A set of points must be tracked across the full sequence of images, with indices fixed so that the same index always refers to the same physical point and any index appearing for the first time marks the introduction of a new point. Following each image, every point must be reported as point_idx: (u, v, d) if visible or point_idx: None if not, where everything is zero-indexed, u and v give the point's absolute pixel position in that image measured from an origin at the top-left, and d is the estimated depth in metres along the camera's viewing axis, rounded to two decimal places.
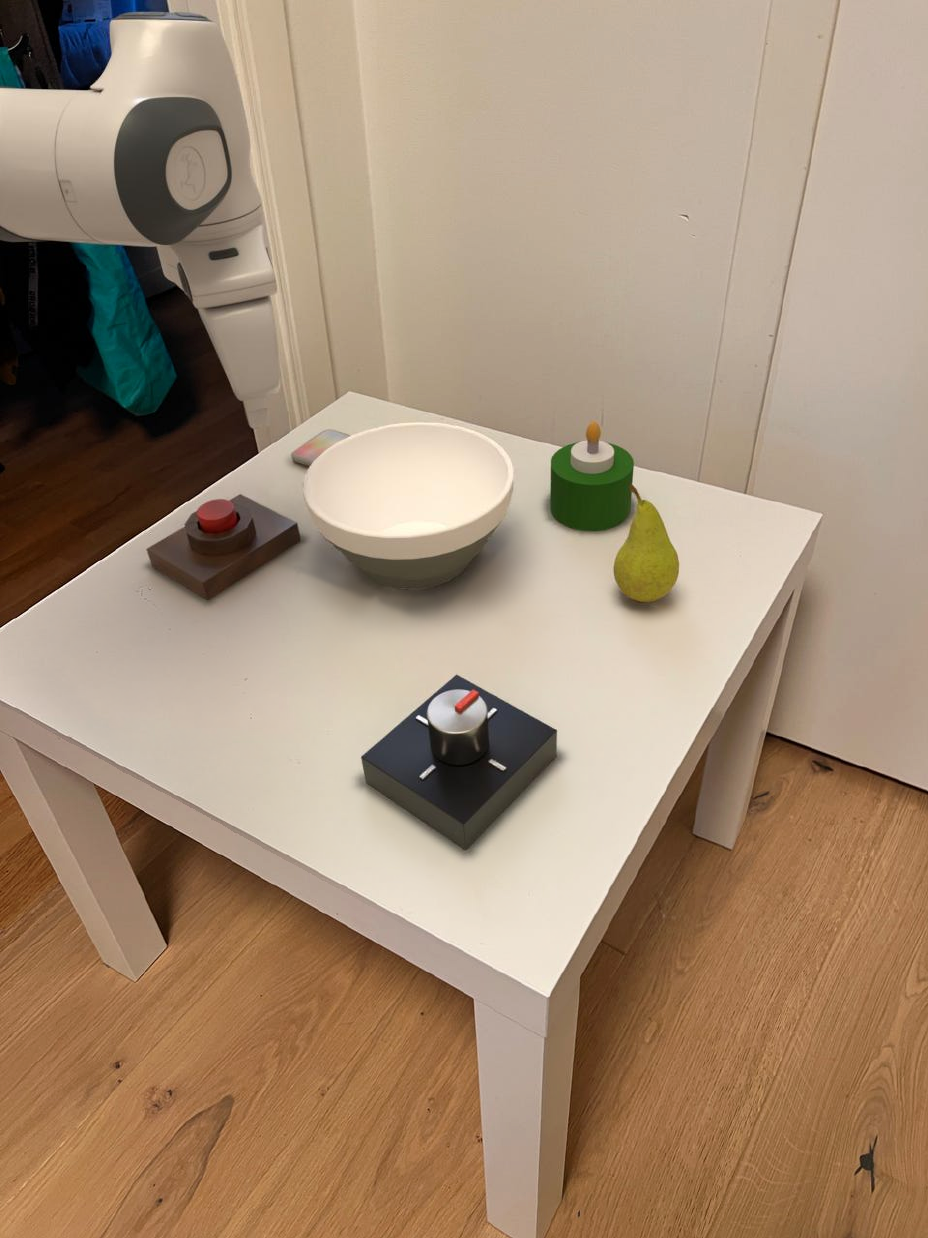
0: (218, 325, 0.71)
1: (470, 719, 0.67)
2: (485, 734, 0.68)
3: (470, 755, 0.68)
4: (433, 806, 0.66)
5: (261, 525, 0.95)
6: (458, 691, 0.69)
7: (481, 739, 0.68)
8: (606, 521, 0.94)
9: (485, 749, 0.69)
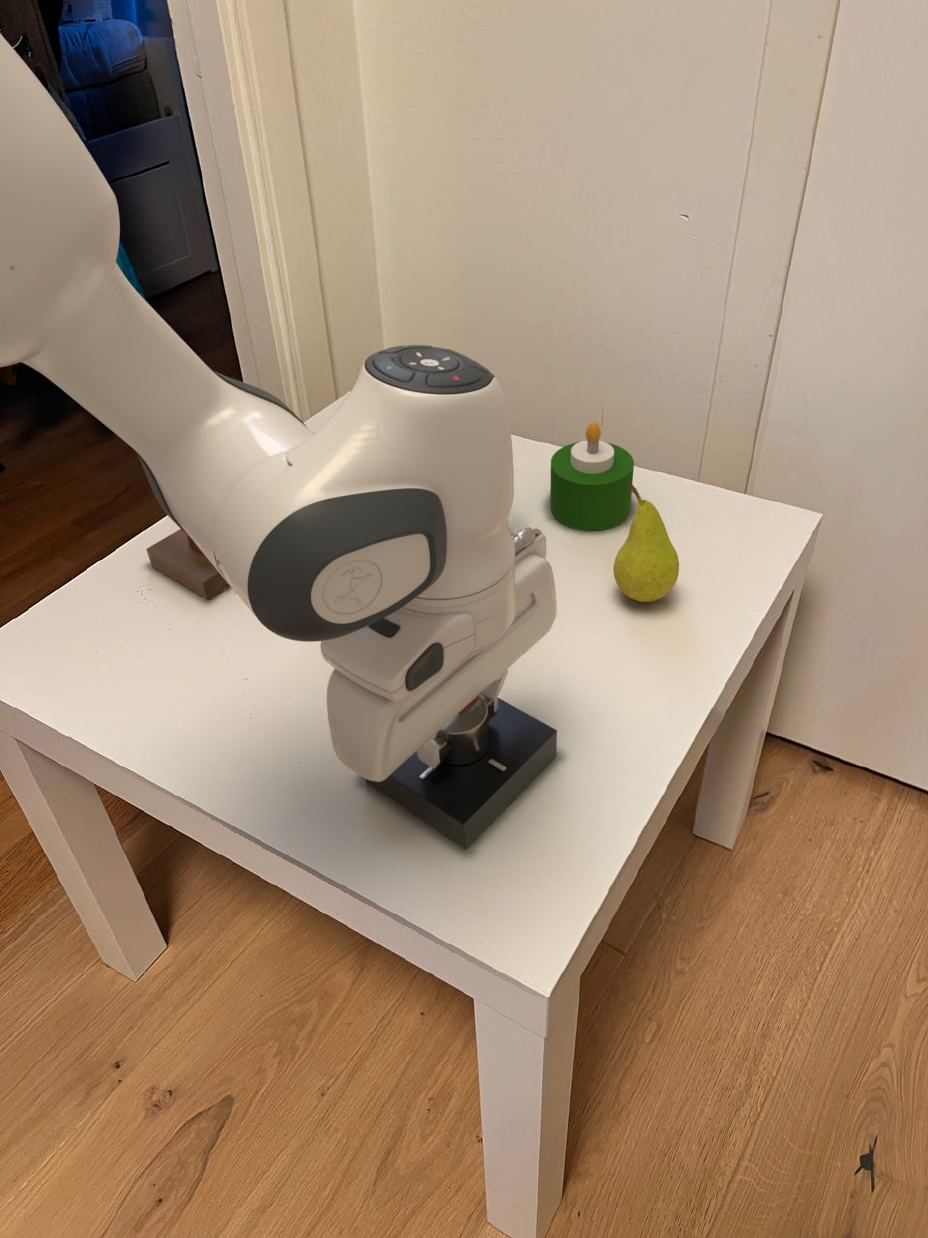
0: (331, 689, 0.58)
1: (470, 719, 0.67)
2: (485, 734, 0.68)
3: (470, 755, 0.68)
4: (433, 806, 0.66)
5: None
6: None
7: (481, 739, 0.68)
8: (606, 521, 0.94)
9: (485, 749, 0.69)
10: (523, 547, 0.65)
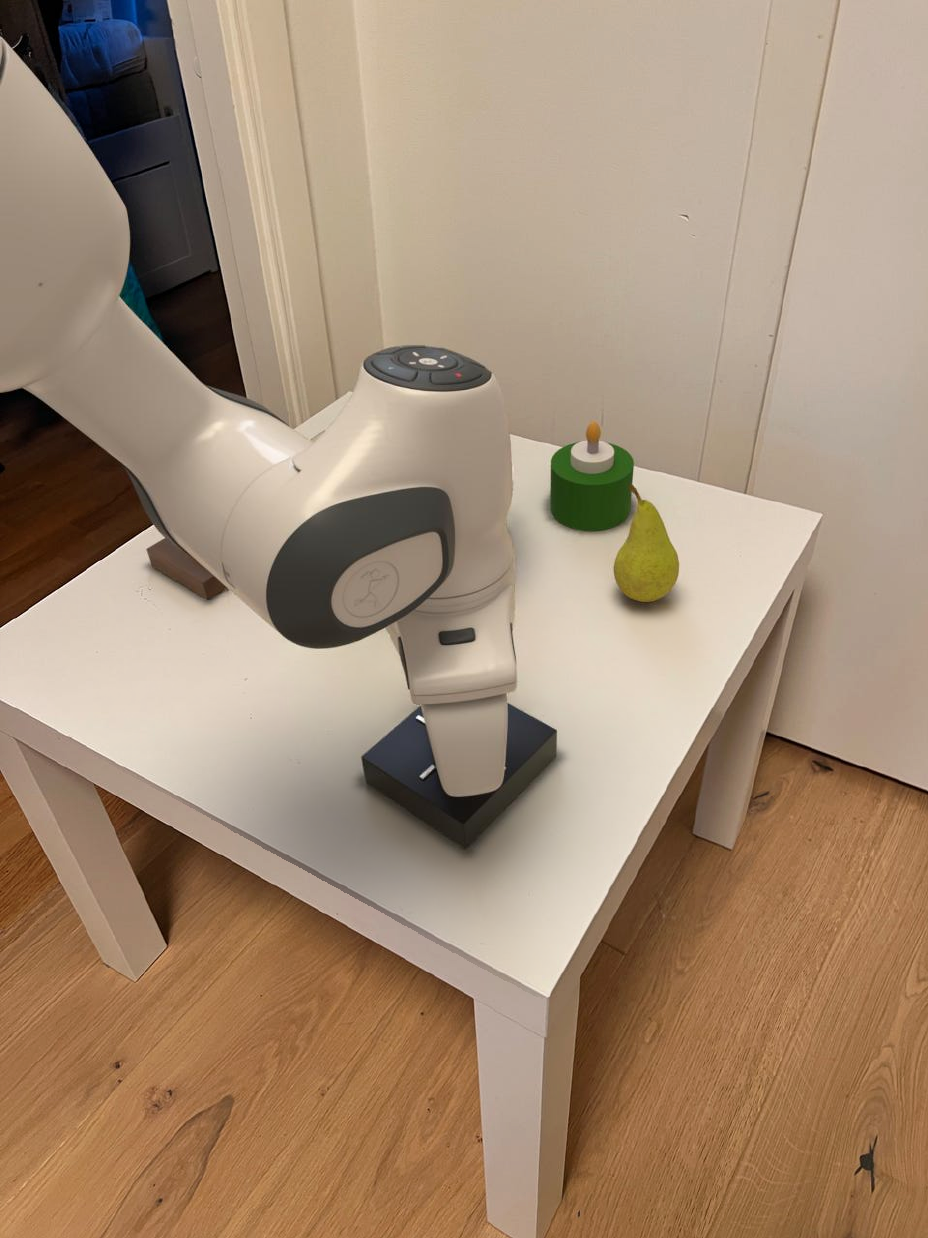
0: (436, 726, 0.55)
1: None
2: None
3: None
4: (433, 806, 0.66)
5: None
6: None
7: None
8: (606, 521, 0.94)
9: None
10: None
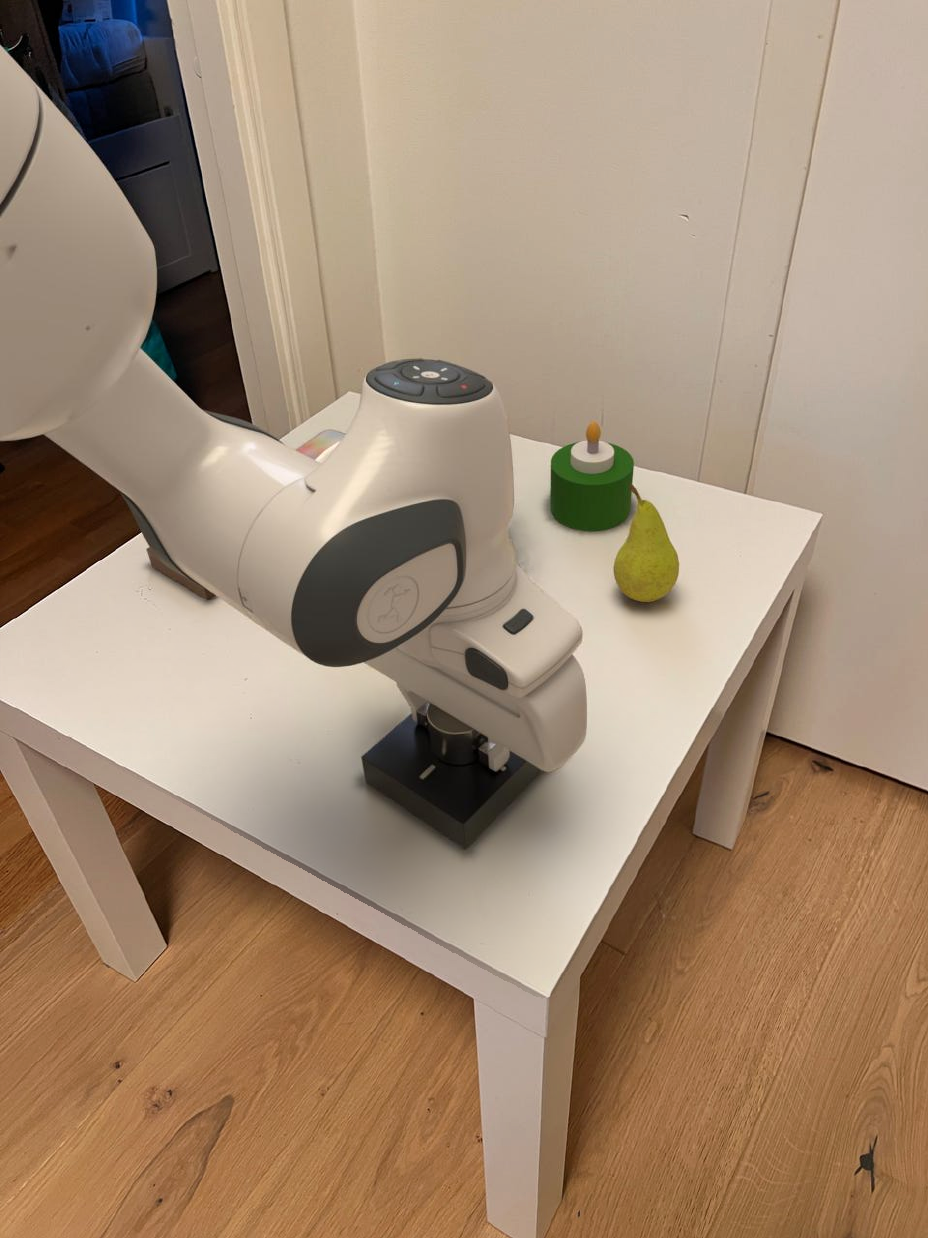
0: (543, 708, 0.57)
1: None
2: None
3: None
4: (433, 806, 0.66)
5: None
6: (430, 709, 0.68)
7: None
8: (606, 521, 0.94)
9: None
10: None
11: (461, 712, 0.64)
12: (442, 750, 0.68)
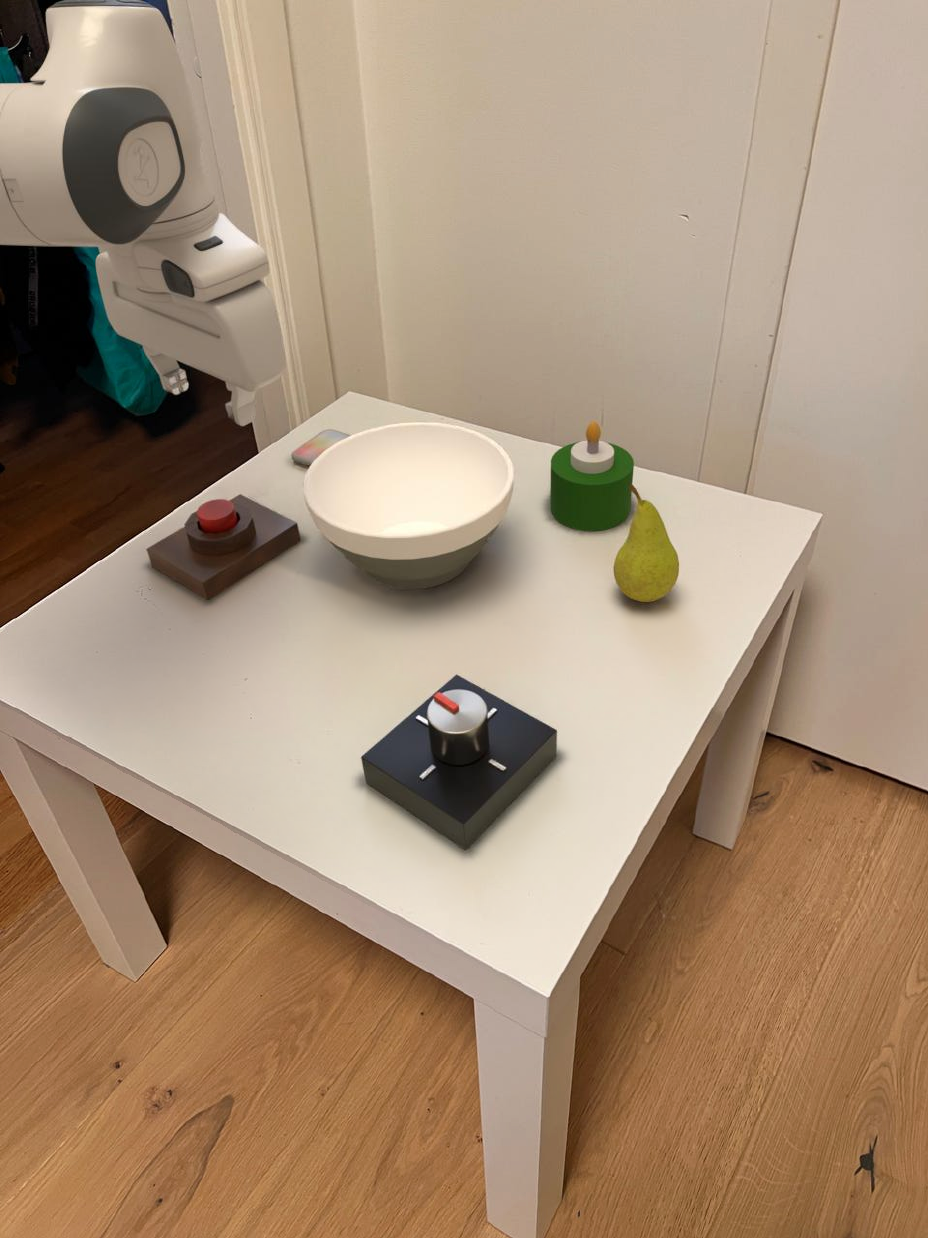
0: (228, 314, 0.68)
1: (470, 701, 0.69)
2: None
3: None
4: (433, 806, 0.66)
5: (261, 525, 0.95)
6: (430, 709, 0.68)
7: None
8: (606, 521, 0.94)
9: None
10: None
11: (189, 354, 0.76)
12: (442, 750, 0.68)
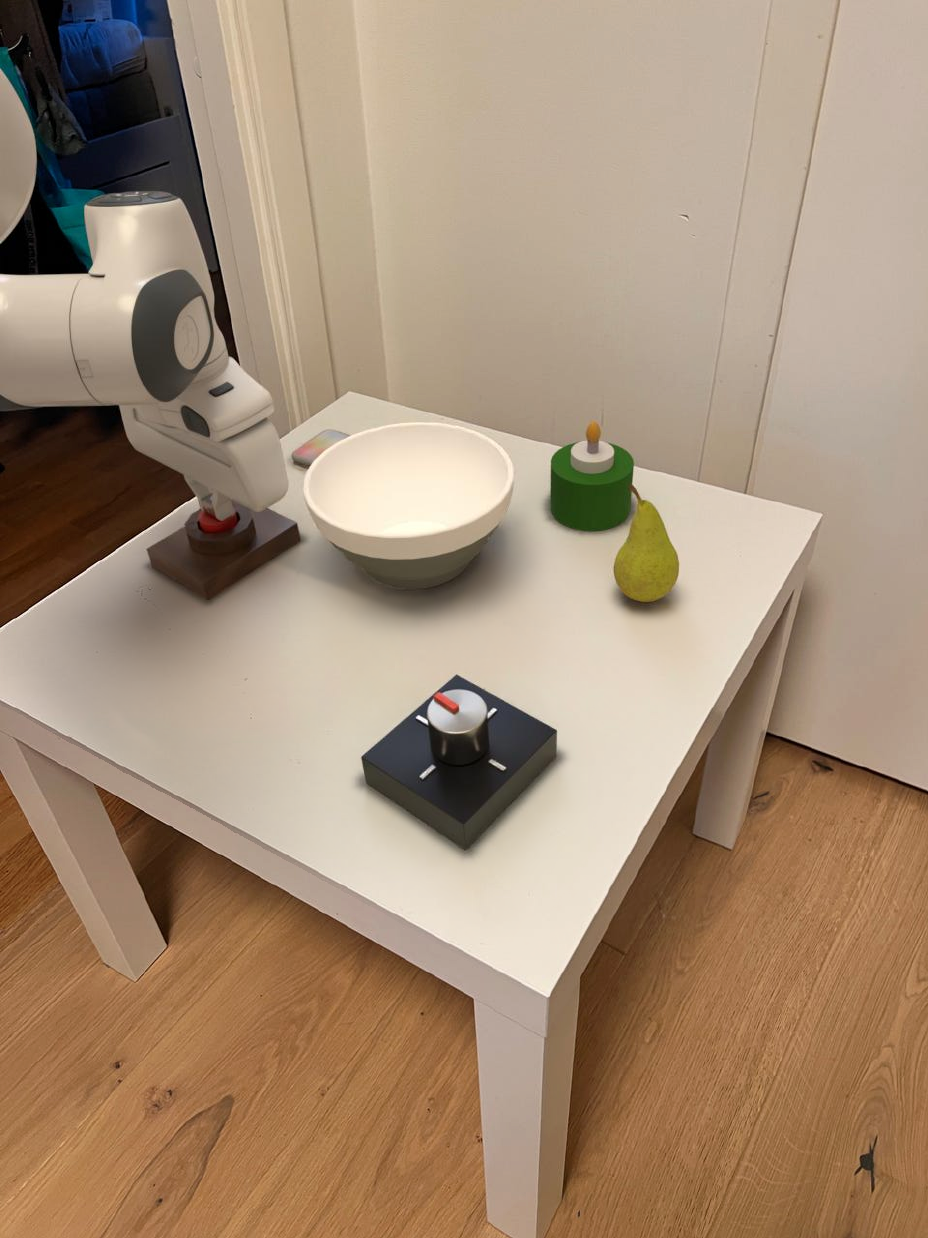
0: (239, 451, 0.79)
1: (470, 701, 0.69)
2: None
3: None
4: (433, 806, 0.66)
5: (261, 525, 0.95)
6: (430, 709, 0.68)
7: None
8: (606, 521, 0.94)
9: None
10: None
11: (202, 476, 0.86)
12: (442, 750, 0.68)
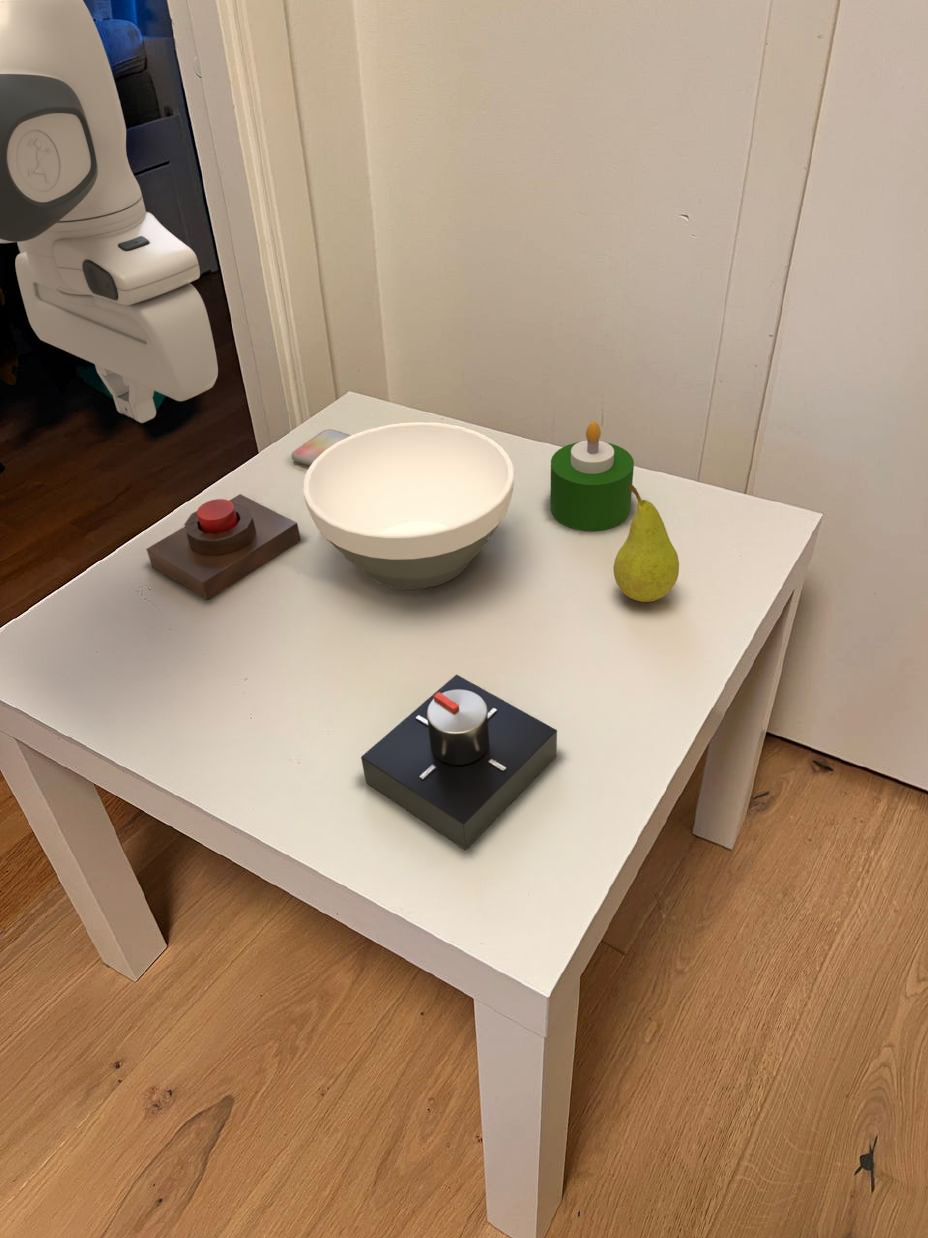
0: (154, 319, 0.65)
1: (470, 701, 0.69)
2: None
3: None
4: (433, 806, 0.66)
5: (261, 525, 0.95)
6: (430, 709, 0.68)
7: None
8: (606, 521, 0.94)
9: None
10: None
11: (114, 361, 0.71)
12: (442, 750, 0.68)
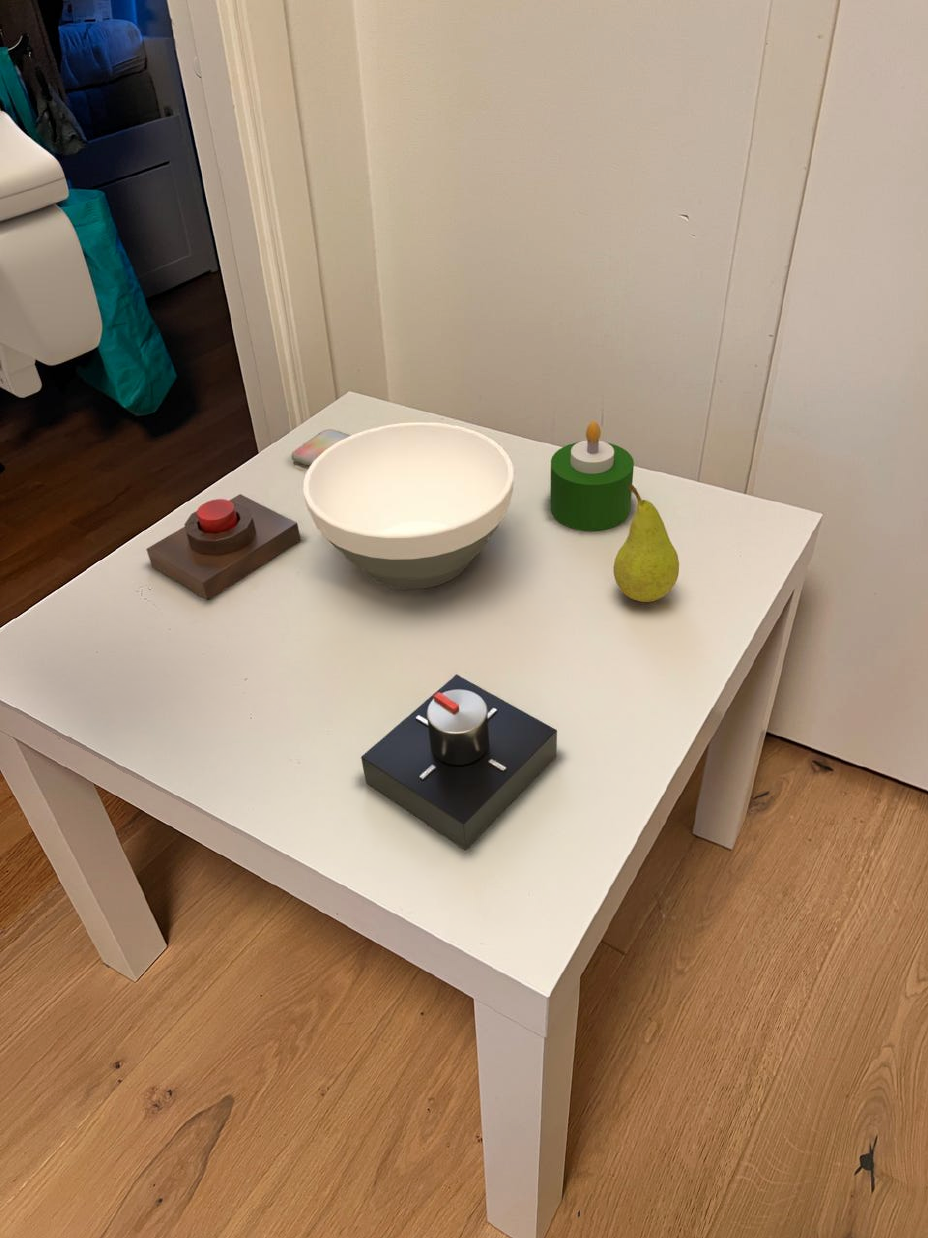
0: (0, 251, 0.47)
1: (470, 701, 0.69)
2: None
3: None
4: (433, 806, 0.66)
5: (261, 525, 0.95)
6: (430, 709, 0.68)
7: None
8: (606, 521, 0.94)
9: None
10: None
11: None
12: (442, 750, 0.68)
